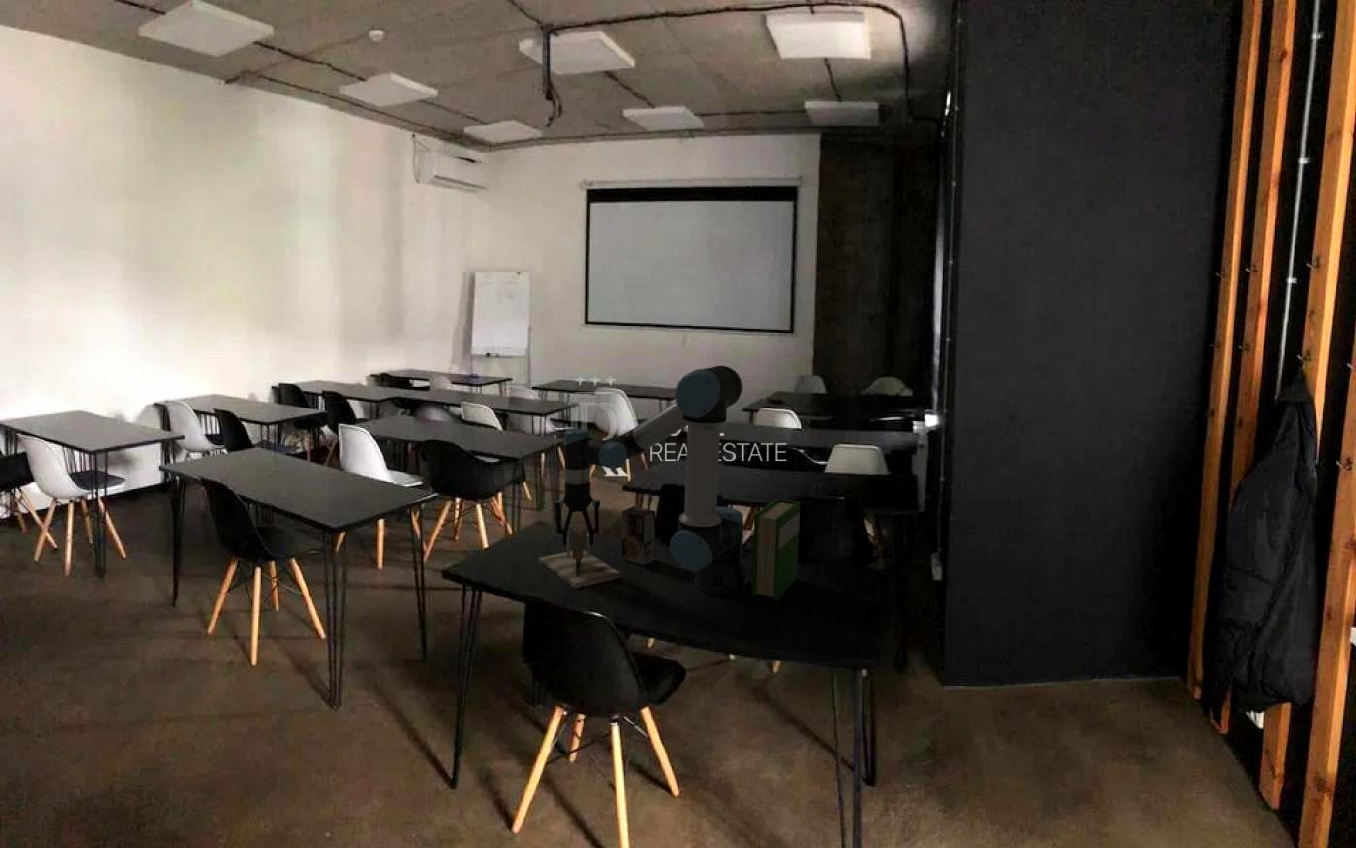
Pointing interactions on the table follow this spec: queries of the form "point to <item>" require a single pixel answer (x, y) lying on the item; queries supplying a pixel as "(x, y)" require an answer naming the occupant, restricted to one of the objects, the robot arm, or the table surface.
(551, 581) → the table surface
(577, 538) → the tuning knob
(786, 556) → the hardback book
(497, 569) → the table surface
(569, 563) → the striped wooden board
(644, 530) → the coffee box
